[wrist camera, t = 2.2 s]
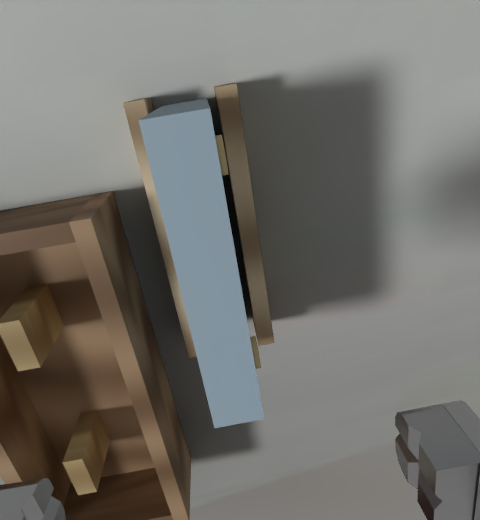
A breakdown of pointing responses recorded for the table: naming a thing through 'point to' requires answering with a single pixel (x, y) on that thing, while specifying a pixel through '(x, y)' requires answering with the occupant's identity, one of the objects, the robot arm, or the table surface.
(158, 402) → the box
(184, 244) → the door
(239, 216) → the door stand
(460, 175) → the table surface
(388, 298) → the table surface
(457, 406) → the robot arm
